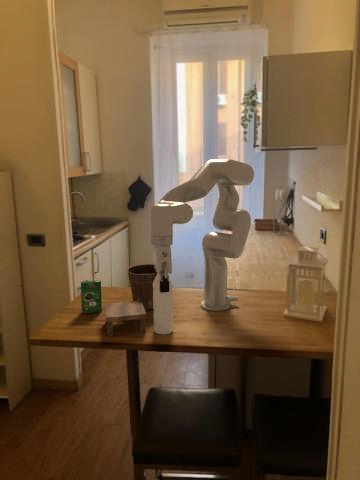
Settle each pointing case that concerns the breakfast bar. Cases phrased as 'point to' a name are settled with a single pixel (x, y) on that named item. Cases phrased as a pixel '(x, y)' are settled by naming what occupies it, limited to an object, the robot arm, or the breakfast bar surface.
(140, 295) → the plant pot
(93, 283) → the coffee box
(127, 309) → the small square stand
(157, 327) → the water bottle
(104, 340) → the breakfast bar surface
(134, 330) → the breakfast bar surface
